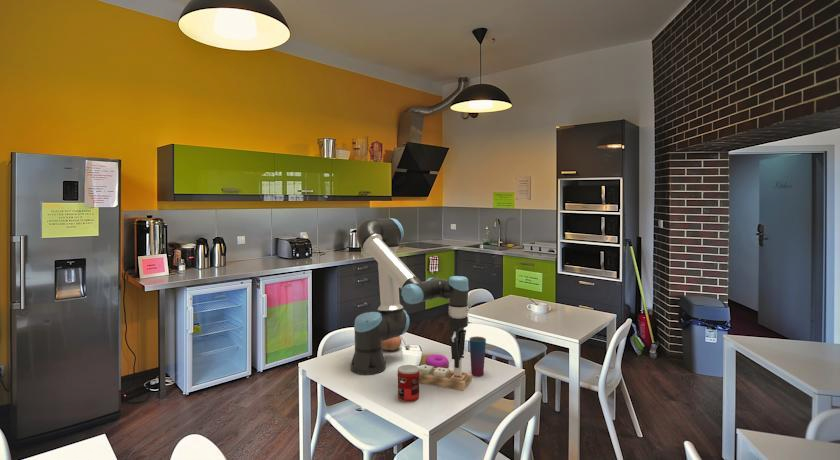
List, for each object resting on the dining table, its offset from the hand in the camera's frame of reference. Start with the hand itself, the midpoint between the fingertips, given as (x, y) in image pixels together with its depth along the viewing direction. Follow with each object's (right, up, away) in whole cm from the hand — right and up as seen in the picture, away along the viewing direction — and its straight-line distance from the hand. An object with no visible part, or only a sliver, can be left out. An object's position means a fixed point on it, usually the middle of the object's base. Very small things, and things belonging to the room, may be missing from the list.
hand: (457, 374), depth 177 cm
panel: (-6, -4, +3) cm, 8 cm away
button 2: (-6, -1, +3) cm, 7 cm away
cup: (+9, -3, +10) cm, 14 cm away
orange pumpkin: (-29, -1, +42) cm, 51 cm away
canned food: (-19, -5, -12) cm, 23 cm away
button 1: (-13, -1, +6) cm, 14 cm away
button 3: (0, -3, 0) cm, 3 cm away
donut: (-7, -3, +19) cm, 21 cm away
